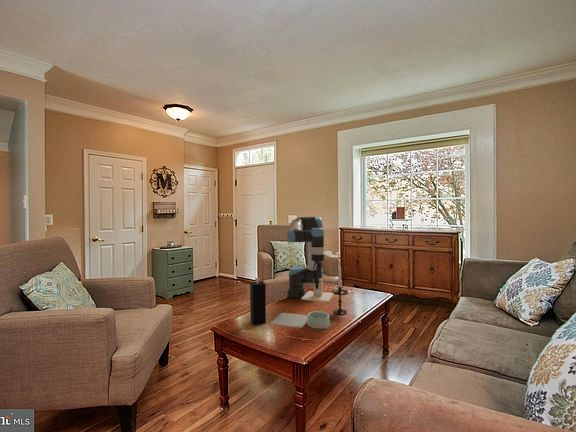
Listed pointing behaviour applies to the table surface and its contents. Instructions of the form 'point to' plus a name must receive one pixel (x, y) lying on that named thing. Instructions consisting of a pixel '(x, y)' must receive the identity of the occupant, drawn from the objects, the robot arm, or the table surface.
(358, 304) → the table surface
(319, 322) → the bowl
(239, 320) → the table surface
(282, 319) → the mat
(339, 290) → the candlestick
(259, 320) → the black block
